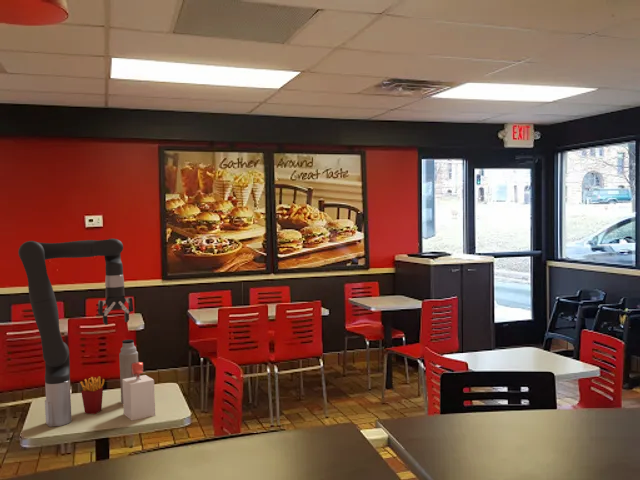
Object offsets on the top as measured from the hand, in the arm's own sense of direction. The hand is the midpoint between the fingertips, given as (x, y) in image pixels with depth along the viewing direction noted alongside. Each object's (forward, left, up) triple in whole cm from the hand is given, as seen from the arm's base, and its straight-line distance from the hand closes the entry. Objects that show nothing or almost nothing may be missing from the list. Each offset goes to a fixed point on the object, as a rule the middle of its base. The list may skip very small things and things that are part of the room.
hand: (116, 323), depth 256 cm
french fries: (-9, +8, -38) cm, 40 cm away
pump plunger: (+5, -10, -36) cm, 38 cm away
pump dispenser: (+5, -10, -38) cm, 40 cm away
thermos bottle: (+8, +10, -38) cm, 40 cm away
